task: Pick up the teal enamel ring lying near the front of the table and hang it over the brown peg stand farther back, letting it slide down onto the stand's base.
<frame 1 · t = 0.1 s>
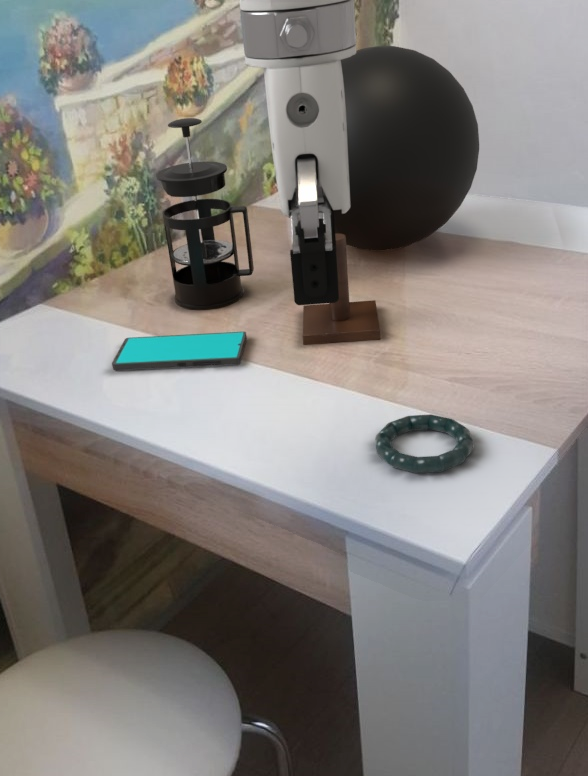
hand: (316, 277, 68), 19 cm above the table, tool pointing down, fingers open, 9 cm apart
ring: (423, 442, 81), point 1 cm above the table
smartphone: (181, 355, 104), on the table
french press: (213, 297, 119), on the table
ball: (383, 246, 130), on the table
brown peg stand: (340, 326, 107), on the table
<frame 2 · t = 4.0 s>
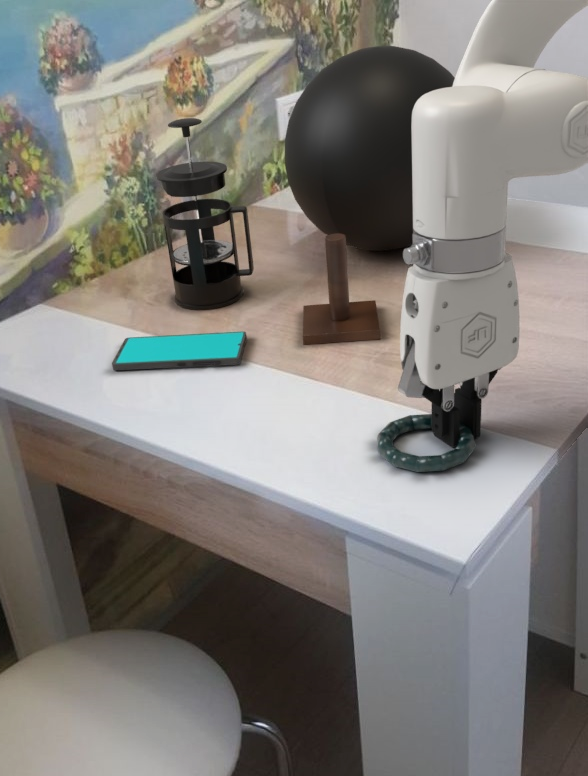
hand: (456, 435, 83), 0 cm above the table, tool pointing down, fingers closed on ring, 1 cm apart
ring: (425, 441, 81), point 1 cm above the table, touching gripper
everything else where it was.
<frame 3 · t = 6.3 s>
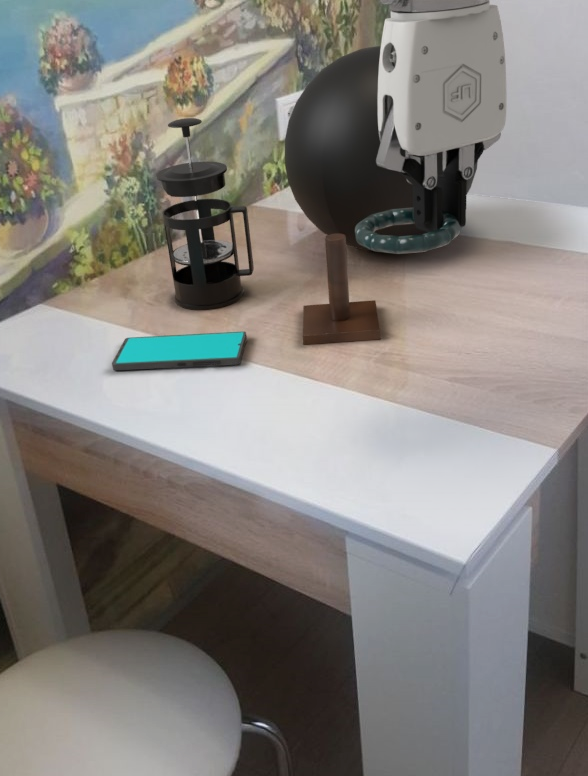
hand: (440, 225, 77), 19 cm above the table, tool pointing down, fingers closed on ring
ring: (406, 229, 75), point 19 cm above the table, touching gripper
everything else where it was.
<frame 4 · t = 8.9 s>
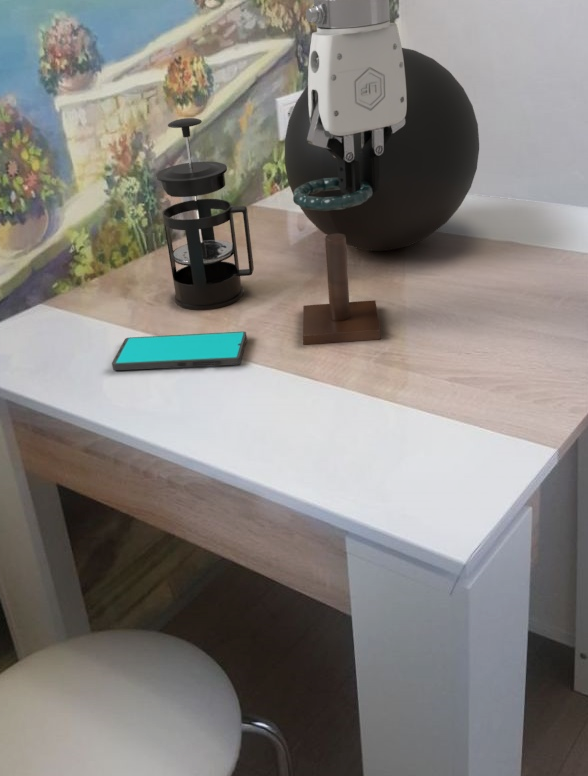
hand: (359, 191, 100), 16 cm above the table, tool pointing down, fingers closed on ring
ring: (332, 193, 98), point 16 cm above the table, touching gripper
everything else where it was.
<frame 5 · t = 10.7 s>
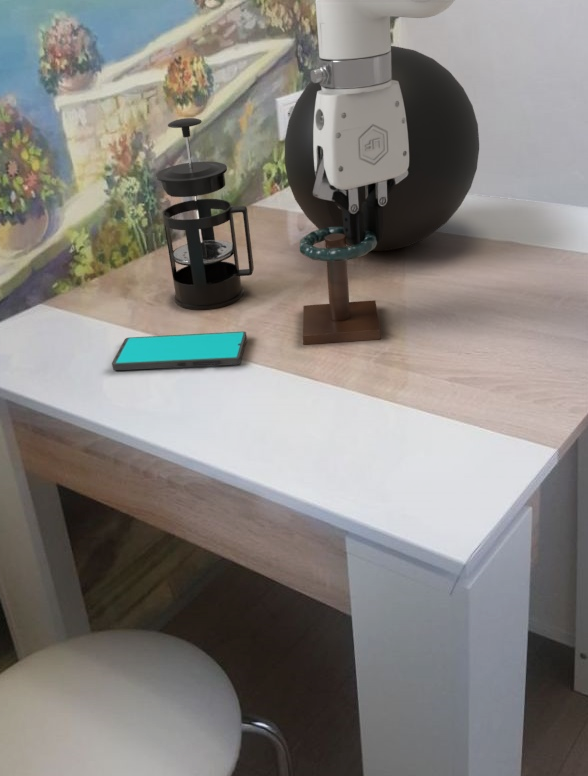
hand: (364, 240, 103), 10 cm above the table, tool pointing down, fingers closed on ring
ring: (337, 243, 101), point 10 cm above the table, touching gripper
everything else where it was.
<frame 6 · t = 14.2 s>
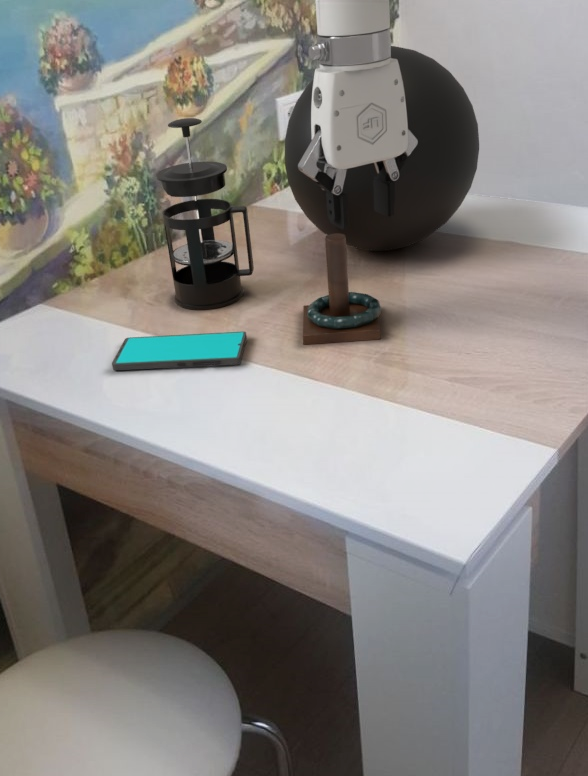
hand: (362, 218, 102), 12 cm above the table, tool pointing down, fingers open, 5 cm apart
ring: (343, 310, 106), point 2 cm above the table, touching brown peg stand
everything else where it was.
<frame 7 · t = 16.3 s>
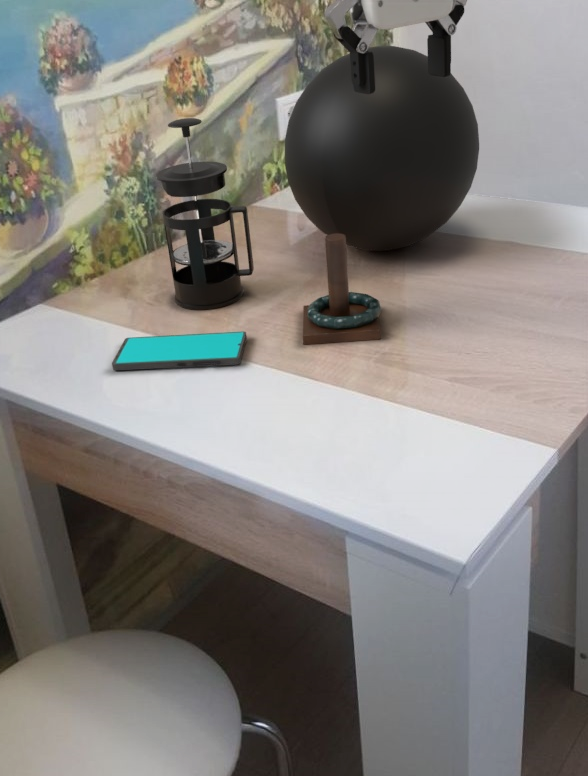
hand: (402, 83, 94), 27 cm above the table, tool pointing down, fingers open, 9 cm apart
nothing on the table moved.
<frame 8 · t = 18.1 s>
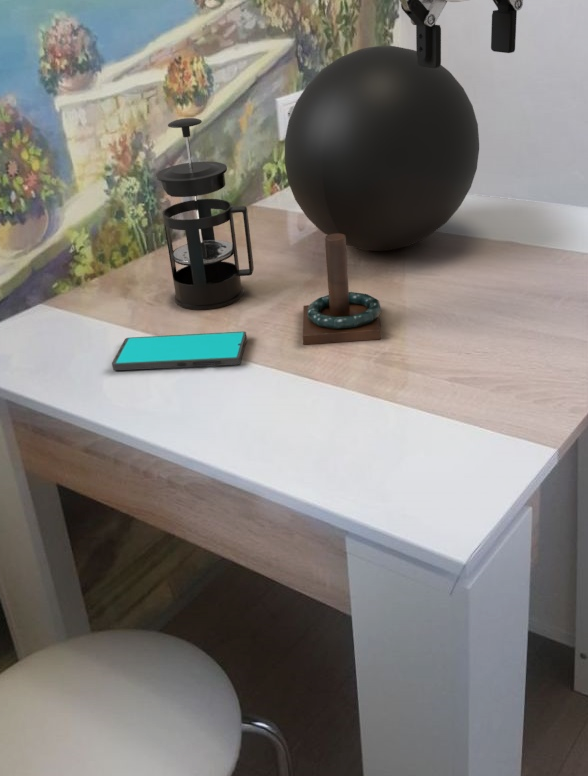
hand: (466, 59, 93), 28 cm above the table, tool pointing down, fingers open, 9 cm apart
nothing on the table moved.
at the end: ring 0.7 cm from the brown peg stand (horizontally); ring point 1.9 cm above the table; the gripper is holding nothing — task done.
